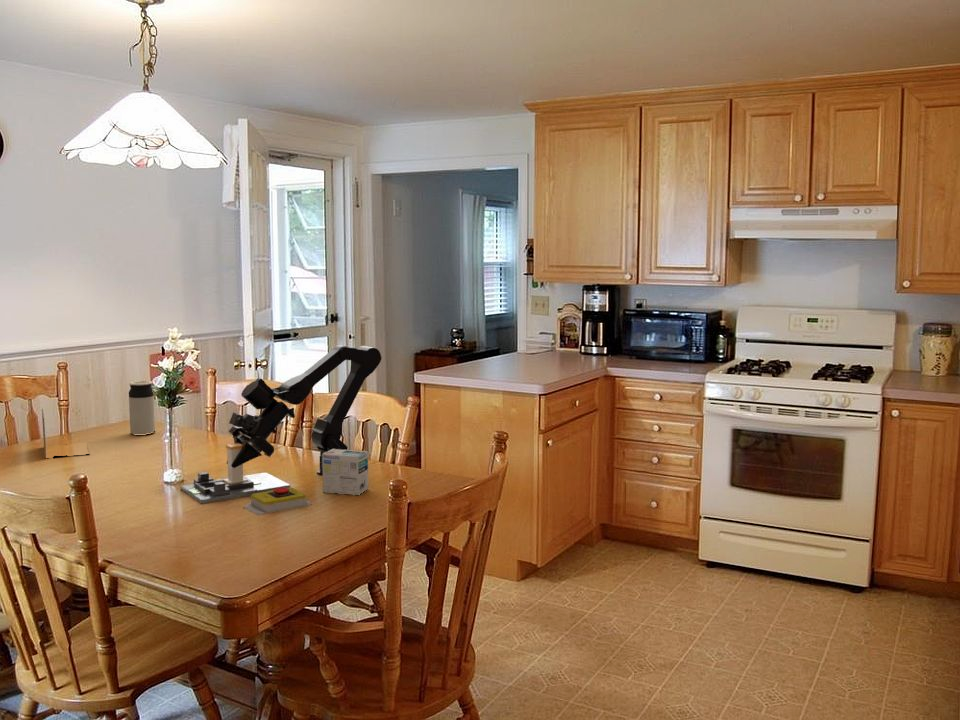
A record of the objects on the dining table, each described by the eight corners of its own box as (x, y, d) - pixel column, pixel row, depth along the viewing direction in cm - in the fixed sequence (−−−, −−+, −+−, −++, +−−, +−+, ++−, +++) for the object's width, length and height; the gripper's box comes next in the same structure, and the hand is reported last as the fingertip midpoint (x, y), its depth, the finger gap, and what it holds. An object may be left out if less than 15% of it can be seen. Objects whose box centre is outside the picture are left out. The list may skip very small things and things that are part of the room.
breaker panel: (266, 475, 240) (265, 462, 240) (290, 488, 228) (289, 474, 227) (180, 489, 226) (180, 474, 225) (201, 503, 213) (200, 488, 213)
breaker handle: (241, 481, 230) (240, 442, 228) (247, 484, 226) (246, 445, 225) (223, 483, 227) (222, 444, 225) (229, 487, 223) (228, 447, 222)
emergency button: (313, 489, 213) (256, 499, 204) (313, 506, 214) (257, 516, 205) (296, 481, 221) (241, 490, 211) (296, 497, 221) (241, 507, 212)
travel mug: (159, 431, 297) (157, 380, 295) (147, 436, 289) (145, 384, 287) (138, 430, 298) (136, 380, 296) (125, 435, 290) (123, 383, 288)
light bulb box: (369, 489, 227) (369, 450, 226) (359, 496, 221) (359, 456, 220) (332, 486, 230) (332, 447, 229) (321, 493, 224) (321, 453, 222)
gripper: (234, 396, 234) (196, 440, 228) (261, 406, 219) (221, 454, 214) (262, 421, 239) (225, 465, 234) (290, 433, 224) (251, 480, 219)
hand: (230, 465), depth 225 cm, fingers closed on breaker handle, 3 cm apart
